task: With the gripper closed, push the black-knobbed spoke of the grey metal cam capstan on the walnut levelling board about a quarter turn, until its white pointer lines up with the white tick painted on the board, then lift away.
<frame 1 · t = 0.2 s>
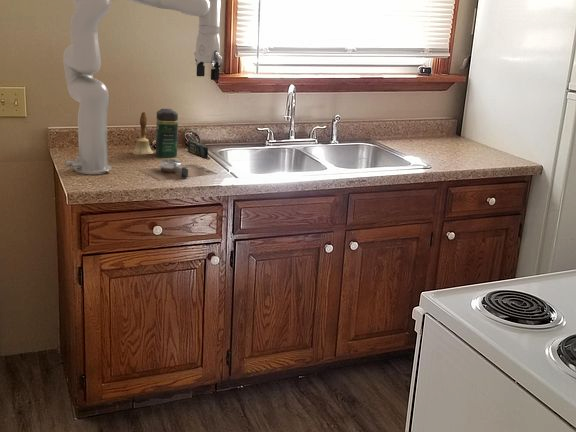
hand: (207, 78, 259), 31 cm above the counter, tool pointing down, fingers open, 9 cm apart
coffee jar: (166, 158, 267), on the counter
hand bell: (142, 153, 271), on the counter
level board: (178, 175, 244), on the counter
dark green box: (198, 156, 274), on the counter
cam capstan: (176, 167, 241), point 3 cm above the counter, hinge at 0.0°
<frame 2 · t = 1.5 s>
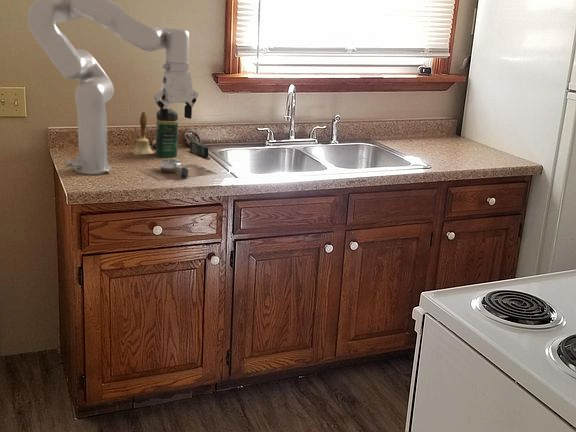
hand: (176, 119, 235), 20 cm above the counter, tool pointing down, fingers open, 9 cm apart
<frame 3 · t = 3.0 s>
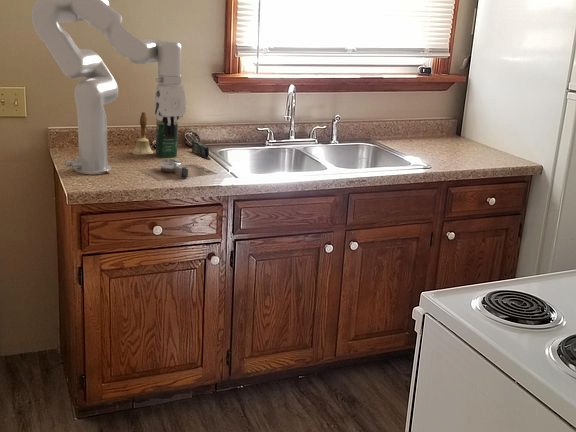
hand: (169, 136, 231), 15 cm above the counter, tool pointing down, fingers closed
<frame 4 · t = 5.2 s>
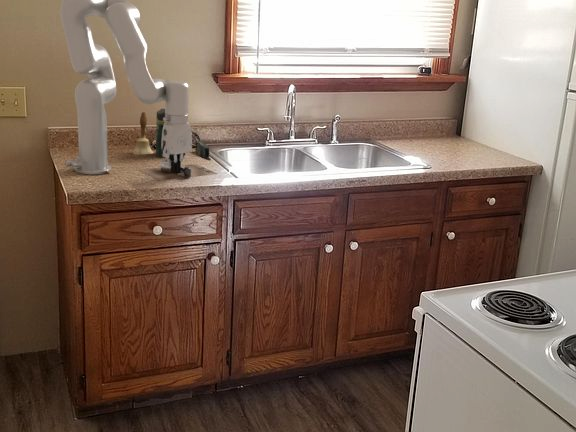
hand: (175, 172, 237), 3 cm above the counter, tool pointing down, fingers closed
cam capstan: (177, 167, 241), point 3 cm above the counter, hinge at 6.6°, touching gripper
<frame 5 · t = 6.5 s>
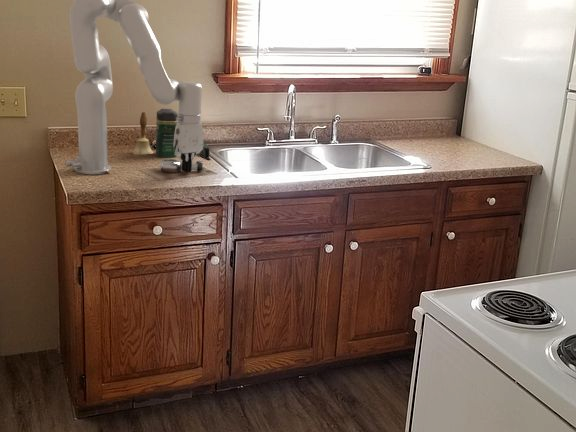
hand: (186, 171, 242), 2 cm above the counter, tool pointing down, fingers closed
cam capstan: (181, 165, 244), point 3 cm above the counter, hinge at 63.3°, touching gripper
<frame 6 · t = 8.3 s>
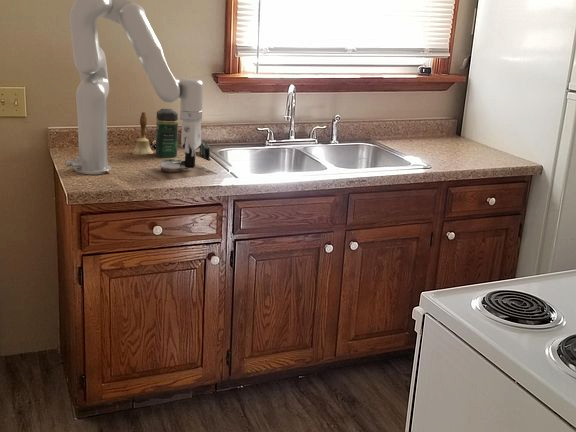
hand: (189, 166, 247), 2 cm above the counter, tool pointing down, fingers closed
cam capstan: (179, 163, 246), point 3 cm above the counter, hinge at 102.5°
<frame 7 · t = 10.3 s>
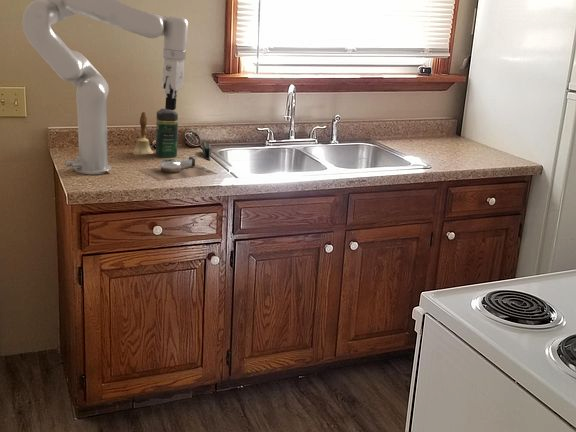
hand: (170, 109, 240), 22 cm above the counter, tool pointing down, fingers closed
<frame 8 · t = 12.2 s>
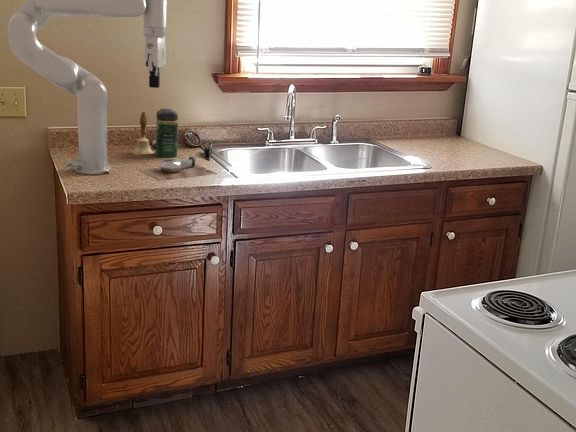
hand: (154, 87, 241), 29 cm above the counter, tool pointing down, fingers closed
at the end: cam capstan at +102° (first picture: +0°) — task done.
